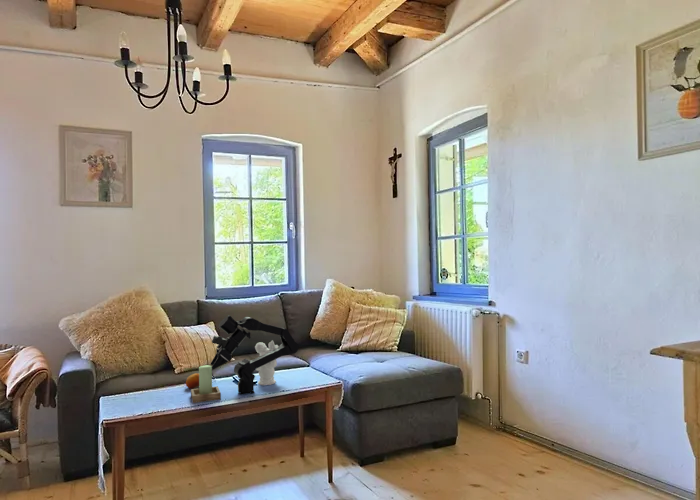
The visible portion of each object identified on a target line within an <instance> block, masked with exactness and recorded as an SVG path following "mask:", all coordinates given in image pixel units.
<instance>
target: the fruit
mask: <svg viewBox="0 0 700 500" xmlns="http://www.w3.org/2000/svg"><path fill="white" fill-rule="evenodd" d="M185 386H186V387H187V388H188V389H190V390H191V389H199V372H198V373H192V374H190V375H188V376H187V378H186V381H185Z"/></svg>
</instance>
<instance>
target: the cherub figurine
mask: <svg viewBox="0 0 700 500" xmlns="http://www.w3.org/2000/svg"><path fill="white" fill-rule="evenodd" d="M279 346H280V345H278V344H275V342H274V339H272V340H271V341H270V342H268V347H267V345H266V343H264V342H262V341H261V342H257V343H256V344H255V346H254V349H255V351H256V352H257V353H256V354H259V357H260V356H262V355H264V354H266V353H268V352H271V351H273V350H275V349H277V348H278V347H279ZM277 365H278V361H277V359H275V360H273V361H271V362H269V363H267V364H265V365H263V366H261V367H259V368H257V369H255V371H258V375H259V380H258V382H257V384H258V385H260V386H271V385H273V384H276V383H277V381H276V379H275V377H274V376H275V372H276V371H275V368H276V367H277Z"/></svg>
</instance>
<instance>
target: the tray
mask: <svg viewBox="0 0 700 500" xmlns="http://www.w3.org/2000/svg"><path fill="white" fill-rule="evenodd" d="M221 396H222V392H221V391H220V388H219V386H212V393H210V394H202V395H199V388H194V389H190V397H191V401H192V404H196V403H197V404H198V403H203V402H204V403H205V402H210V401H211V402H212V401H218V400H222V397H221Z"/></svg>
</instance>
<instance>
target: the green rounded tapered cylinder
mask: <svg viewBox="0 0 700 500" xmlns="http://www.w3.org/2000/svg"><path fill="white" fill-rule="evenodd" d="M212 366H213V365H208V364H206V365H200V366H199V367H198V374H199V387H198V389H199V395H202V394H210V393H212V387H213V375H212V374H213V372H212V371H213V369H212Z"/></svg>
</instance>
